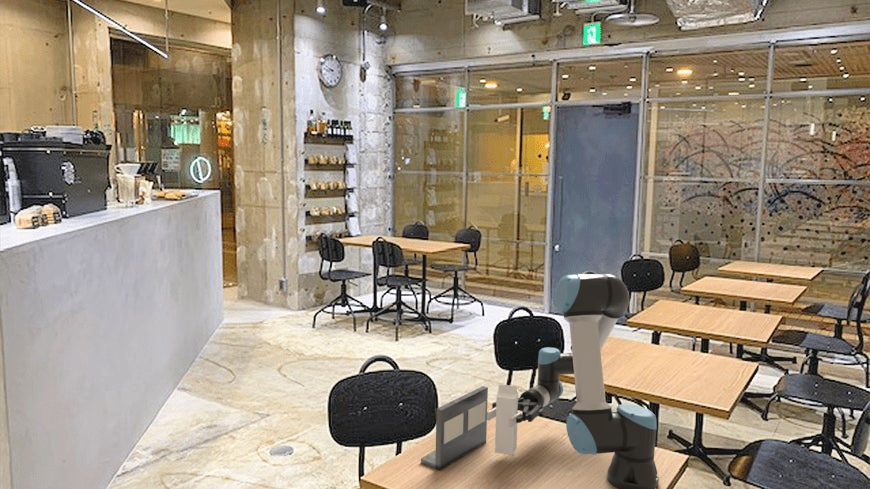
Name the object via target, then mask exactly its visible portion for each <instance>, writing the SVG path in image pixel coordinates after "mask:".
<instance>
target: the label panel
mask: <svg viewBox="0 0 870 489" xmlns="http://www.w3.org/2000/svg"><path fill="white" fill-rule="evenodd" d="M488 391H489V388H488V386H485V385H482V386H481V387H478V388H476V389H474V390H471V391H470V392H468V393H466V394H464V395H462V396H459V397H458V398H456V399H453V400H452V401H450V402H448V403H445V404H443V405H442V406H441V405H440V406H439V407H437V408H436V410H435V412H436V413H435V414H436V418H435V420H436V421H435V450H433V451H432V452H430V453H428V454H426V455H424V456H423V457H421V458H420V464H422V465H425V466H427V467H430V468H432V469H435V470H437V471H442V470H444V469H446V468H447V467H449V466H450V465H452V464H454V463H456V462H457V461H458V460H460V459H462V458H464V457H465V456H467V455H469V454H470V453H471V452H473V451H475V450H477V449H478V448H479V447H482V446H483V445H485V444H486V443H487V431H488V430H487V427H488V426H487V425H488V420H487V412H488V397H489V396H488V395H489V393H488Z"/></svg>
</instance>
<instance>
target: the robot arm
mask: <svg viewBox="0 0 870 489" xmlns="http://www.w3.org/2000/svg"><path fill="white" fill-rule="evenodd" d="M554 299H555V300H554V302H555V307H556V310H557V311H558V312H560V313H561V314H563V320H565V321H566V323H568V324H569V332H570V334H569V335H570V343H571V352H566V353H561V351H560V349H558V348H557V347H550V346H548V347H543V348H541V349H540V350H539V351H538V358H537V383H536V385H535V386H533V387H531V388H528V389H527V390H525V391H523V392H522V393H521V394H520V396H519V397H518V411H522V412H518V414H516V415H514V416H512V417H511V418H509V427H512V426H514V425H515V424H517V425H518V424H520V423H522V422H526V421H527V422H529V423H531V422H533V421H534V420H535V419H537V417H538V416H539V415H541V414H543V413H544V407H546V406H547V405H549V404H551V403H553V402H555V401H558V399H559V398H560V397H561V396H562V395H563V394H564V386H563V384H562V382H561V381H560V376H564V375H573V378H574V385H575V386H574V388H575V396H576V397H575V398H576V402H575V404H574V405H573V406H572V407H571V408H572V409H571V410H572V413H571V414H570V415H568V416H567V417H566V418H567V419H566V426H565V427H566V434H567V437H568V439H569V442H570V444H571V445H572V448H573V449H574V451H575V452H576V453H578V454H580V455H592V456H595V455H597V454H599V455H600V454H610V453H613V456H612V458H611V462H610V464H609V465H608V467H607V473H606V474H607V475H606V477H607V480H608V482H609V483H611V484H612V486H614V487H616V488H618V489H655V488H656V487H657V486H658V487H659V483H660V482H659V480H660V477H659V474H658V469H657V466H656V463H655V450H656V449H655V448H656V436H657V429H658V428H657V426H658V425H657V417H656V414H654V413H653V411H651V410H650V409H648V408H646V407H643V406H641V405H636V404H633V403H621V404H620V403H619V404H618V405H617V407H616V411H613V408H612V406H611V405H610V404H609V403H608V402H607V400H606V392H605V391H606V390H605V381H604V373H603V363H602V352H601V351H602V349H603V347H604V345H605V344H606V342H607V340H608V339H609V336H610V334H611V333H612V332H613V329H614V327H615V325H616V324H617V321H618V320H619V319H621V318H623V317H624V316H625V314H626V312H627V311H628V308H629V304H630V294H629V290H628V288H627V286H626V284H625V283H624V282H623V280H621V279H620V278H619V277H618V276H616V275H614V274H610V273H574V274H567V275H563V277H561V278H560V280H559V281H558V283H557V285H556V289H555V293H554ZM491 406H492V407H491V409H489V410H487V421H490V420H492V419H494V418H496V401H495V402H492V404H491ZM658 487H657V488H658ZM657 488H656V489H657Z"/></svg>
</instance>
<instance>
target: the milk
mask: <svg viewBox="0 0 870 489" xmlns="http://www.w3.org/2000/svg"><path fill="white" fill-rule="evenodd" d="M518 398H519V392H518V387H517V386H516V385H511V384H509V385H508V384H498V388H497V393H496V400H495V402H496V417H495V439H494V440H495V442H494V444H495V445H494V446H495V447H494V453H496V454H503V455H508V456H514V455H515V452H516V450H517V448H518V447H517V446H518V444H517V442H518V423H517V424H515V425H514V426H512V427H509V418H511V417H512V416H514V415H516V414H518V413H519V412H518V411H519V410H518Z"/></svg>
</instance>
